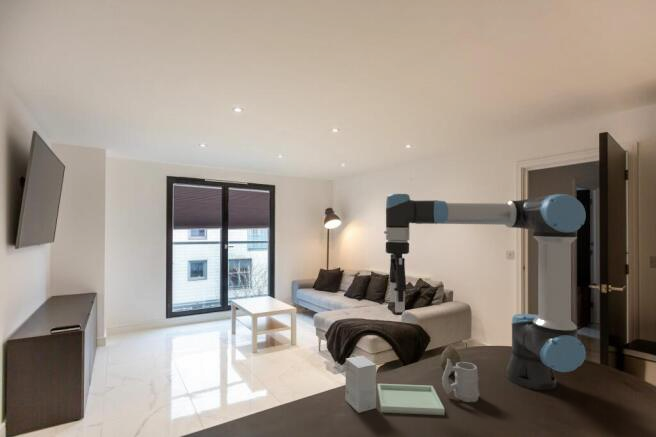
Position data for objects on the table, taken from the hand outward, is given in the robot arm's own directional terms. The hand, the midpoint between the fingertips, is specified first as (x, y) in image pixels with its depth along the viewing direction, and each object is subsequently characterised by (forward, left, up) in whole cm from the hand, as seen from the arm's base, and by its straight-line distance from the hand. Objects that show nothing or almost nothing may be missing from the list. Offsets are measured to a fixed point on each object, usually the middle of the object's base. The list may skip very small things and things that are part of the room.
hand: (396, 306), depth 111 cm
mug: (-20, +1, -28) cm, 35 cm away
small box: (+12, +8, -28) cm, 32 cm away
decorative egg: (-22, -16, -28) cm, 39 cm away
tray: (-3, +5, -28) cm, 29 cm away
